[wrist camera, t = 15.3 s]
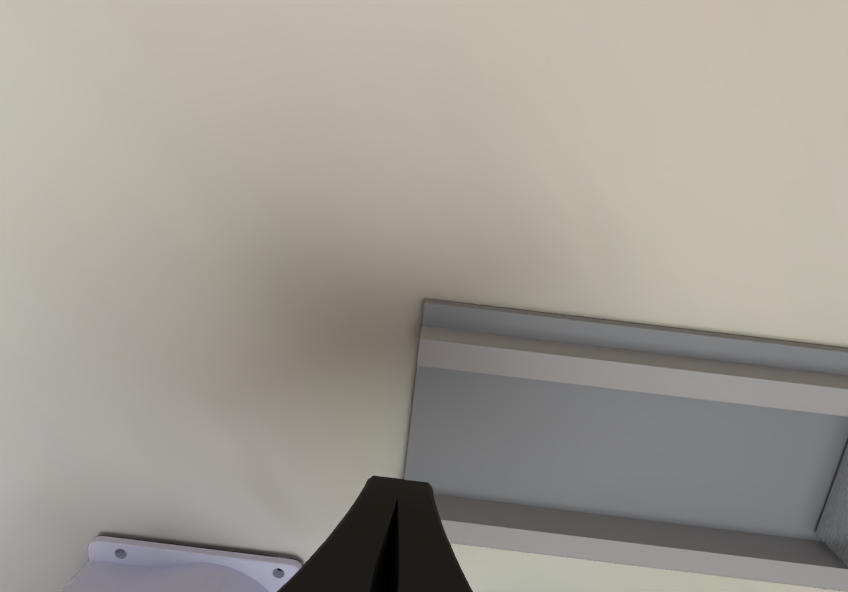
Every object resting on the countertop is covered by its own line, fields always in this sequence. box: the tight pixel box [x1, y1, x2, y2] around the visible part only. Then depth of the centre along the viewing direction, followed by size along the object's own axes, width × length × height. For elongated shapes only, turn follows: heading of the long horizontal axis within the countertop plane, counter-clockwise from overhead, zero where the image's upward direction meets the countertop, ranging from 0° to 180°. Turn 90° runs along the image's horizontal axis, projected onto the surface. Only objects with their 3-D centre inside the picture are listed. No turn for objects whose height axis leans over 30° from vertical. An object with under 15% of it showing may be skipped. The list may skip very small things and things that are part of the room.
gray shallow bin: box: [404, 299, 848, 592], centre depth 19 cm, size 22×10×4 cm, turn 84°
